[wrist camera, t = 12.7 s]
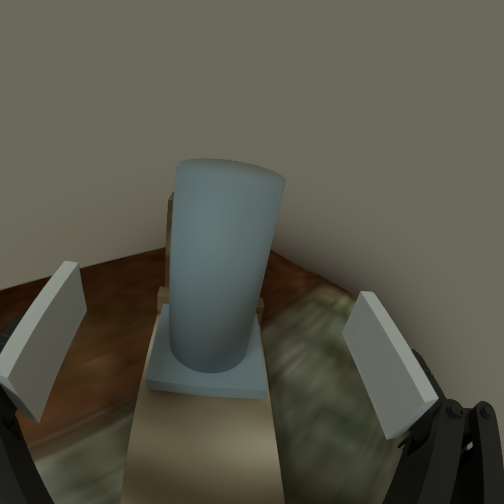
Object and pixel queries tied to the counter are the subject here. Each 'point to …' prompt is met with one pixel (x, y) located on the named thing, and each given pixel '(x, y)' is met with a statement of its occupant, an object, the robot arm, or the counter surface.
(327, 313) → the counter surface
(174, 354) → the grey cylinder on base
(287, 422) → the counter surface
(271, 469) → the rail
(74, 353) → the counter surface
